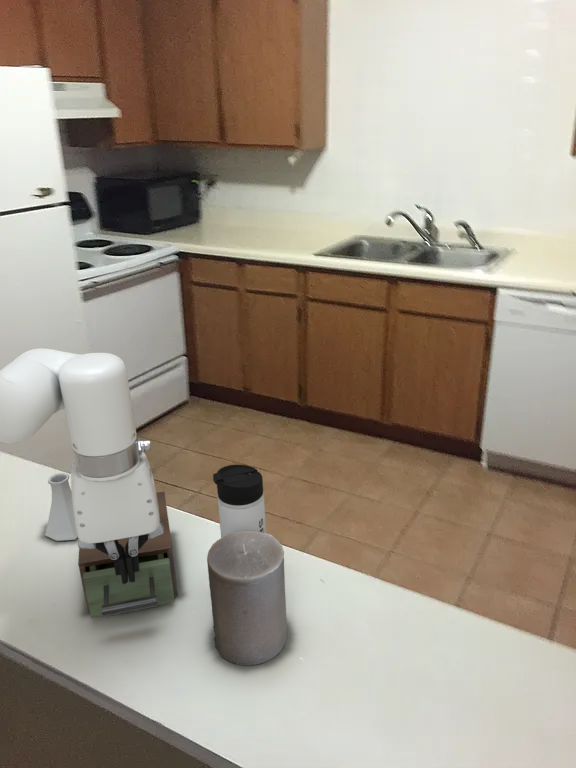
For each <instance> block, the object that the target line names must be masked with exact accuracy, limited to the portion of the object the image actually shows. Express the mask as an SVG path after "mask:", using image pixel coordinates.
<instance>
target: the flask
mask: <svg viewBox="0 0 576 768" xmlns="http://www.w3.org/2000/svg"><path fill="white" fill-rule="evenodd" d="M69 480H70V474H68V473H65V472H57V473H54V474H53V475H51V476H49V478H48V480H47V484H48V485H50V489H51V503H50V508H49V509H50V510H49V514H48V519H47V524H46V528H45V533H44V536H45V537H47V538H49V539H52V540H54V541H57V542H59V541H71V540H76V539H78V535H77V530H76V525H75V518H74V510H73V502H72V490H71V485H70V483H69Z"/></svg>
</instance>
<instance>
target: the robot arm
mask: <svg viewBox="0 0 576 768" xmlns="http://www.w3.org/2000/svg"><path fill="white" fill-rule="evenodd" d="M62 410H64V412H65V418H66V422H67V428H68V433H69V438H70V442H71V443H70V444H71V448H72V452H73V458H74V463H73V464H72V465H71V468H70V489H71V491H72V502H73V510H74V518H75V525H76V530H77V535H78V537H77V547H78V549H79V548H81V549H94V548H96V549H98V550H100V551H102V552H103V553H105V554H107V555H109V557H110V559H112V560H113V563H114V568H115V573H116V576H117V575H121V578H122V584H126V583H127V582H128V577H129V582H131V583H132V582H135V572H138V571H139V562H138V556H137V554H138V550H139V549H140V548H141V547H142V546H143V545H144V544H145V542H146V541H147V540H148V539H149V538H154V537H156V536H159V535H161V534H163V533H164V526H163V523H162V521H161V519H160V517H159V505H158V498H157V488H156V484H155V480H154V475H153V472H152V468H151V465H150V462H149V460H148V457H147V455H146V454H145V452H147V451H151V450H152V449H151V440H150V439H143V438H142V439H141V438H140V437H141V436H138V435H137V429H136V428H137V427H136V422H135V416H134V410H133V402H132V396H131V390H130V383H129V376H128V371H127V366H126V364H125V362H124V361H123V359H122V358H121V357H119V356H118V355H116V354H114V353H109V352H89V353H83V354H80V353H73V352H68V351H63V350H58V349H52V348H45V347H43V348H40V347H39V348H33V349H29V350H27V351H24V352H23V353H21V354H20V355H18V356H17V357H16V358H14V360H12V361H11V362H10V363H8V364H7V365H5V366H4V367H3V368H2V369H0V443H1V444H8V445H10V444H11V445H12V444H13V445H14V444H19V443H22V442H24V441H26V440H28V439H30V438H31V437H33V436H34V435H35V434H36V433H37V432H38V431H39V430H41V428H42V427H43V426H44V425H45V424H46V423H47V422H48V421H49V419H50V418H51V417H52V416H53V415H54V414H57V413H58V412H60V411H62ZM123 538H128V542H127V543H126V546H125V551H124V547H122V545H121V544H119V541H118V539H123Z"/></svg>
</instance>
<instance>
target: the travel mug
mask: <svg viewBox="0 0 576 768" xmlns="http://www.w3.org/2000/svg"><path fill="white" fill-rule="evenodd" d="M212 476H213V477H212V481H213V482H214V484H215V485H216V489H217V493H216V494H217V495H216V497H217V506H218V518H219V519H218V520H219V529H220V538H222V537H224V536H226V535H228V534H231V533H234V532H240V531H256V532H262V533H265V534H266V533H267V529H266V528H267V524H266V523H267V522H266V508H265V491H264V480H263V475H262V473H261V472H260V471H258V469H257V468H255V467H253V466H251V465H246V464H228V465H226V466H222V467H221V468H219V469H218V470H217V471H216V473H212Z"/></svg>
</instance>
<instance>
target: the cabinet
mask: <svg viewBox="0 0 576 768" xmlns="http://www.w3.org/2000/svg"><path fill="white" fill-rule="evenodd" d="M156 493H157V498H158V505H159V517H160V519H161V521H162V523H163V526H164V533H163V534H161V535H159V536H156V537H154V538H149V539H148V540H147V541H146V542H145V544H144V545H143V546H142V547H141V548H140V549H139V550H138V554H137V556H138V558H139V557H144V556H150V555H156V554H161V553H164V559H165V558H169V562H170V569H171V577H172V585H173V592H174V597H178V596H179V590H178V583H177V575H176V567H175V559H174V551H173V544H172V537H171V529H170V521H169V515H168V507H167V506H168V505H167V499H166V493H165V491H159V492H157V491H156ZM118 541H119V544H121V545H122V547H124V551H125V546H126V543H127V542H128V538H123V539H118ZM77 560H78V561H77V565H78V569H79V574H80V575H79V576H80V580H81V585H82V589H83V596H84V599H85V604H86V611H87V613H89V614H90V610H89V605H88V600H87V595H86V590H85V585H84V580H83V573H86V572H90V568H89V566H93V565H99V564H105V563H110V562H113V560H112V559H110V557H109V555H107V554H105V553H103V552H102V551H100V550H98V549H96V548H94V549H81V548H79V547H78V559H77Z"/></svg>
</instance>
